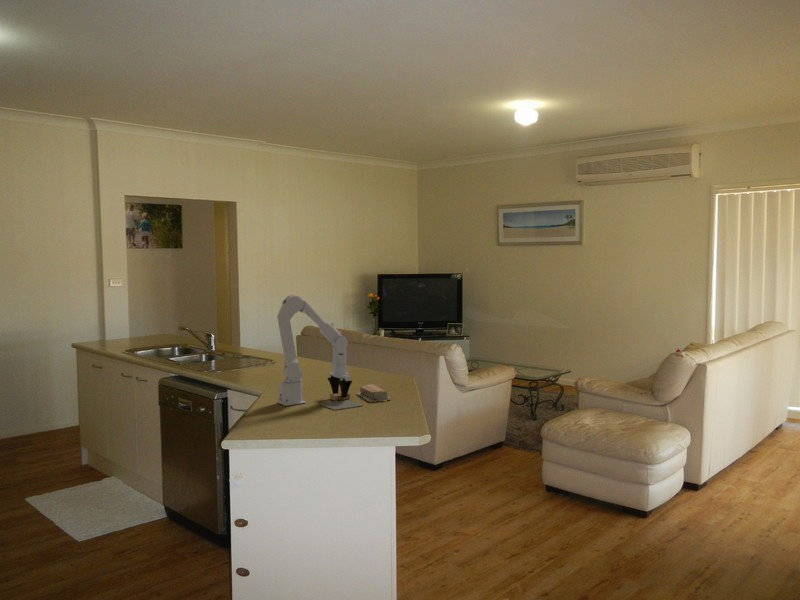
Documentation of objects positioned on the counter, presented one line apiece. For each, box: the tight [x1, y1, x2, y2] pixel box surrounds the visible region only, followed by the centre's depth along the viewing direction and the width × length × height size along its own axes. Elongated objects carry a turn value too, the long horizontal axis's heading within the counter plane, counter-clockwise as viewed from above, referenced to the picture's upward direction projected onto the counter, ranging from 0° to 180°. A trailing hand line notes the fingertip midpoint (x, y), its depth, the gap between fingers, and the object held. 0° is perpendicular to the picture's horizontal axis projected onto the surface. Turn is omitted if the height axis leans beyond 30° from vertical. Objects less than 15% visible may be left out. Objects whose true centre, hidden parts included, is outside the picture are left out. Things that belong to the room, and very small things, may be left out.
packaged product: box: [355, 383, 392, 403], centre depth 278 cm, size 18×5×10 cm
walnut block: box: [329, 392, 351, 402], centre depth 274 cm, size 7×4×3 cm, turn 124°
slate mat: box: [319, 399, 364, 411], centre depth 262 cm, size 13×12×1 cm
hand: (339, 395), depth 274 cm, fingers open, 7 cm apart
